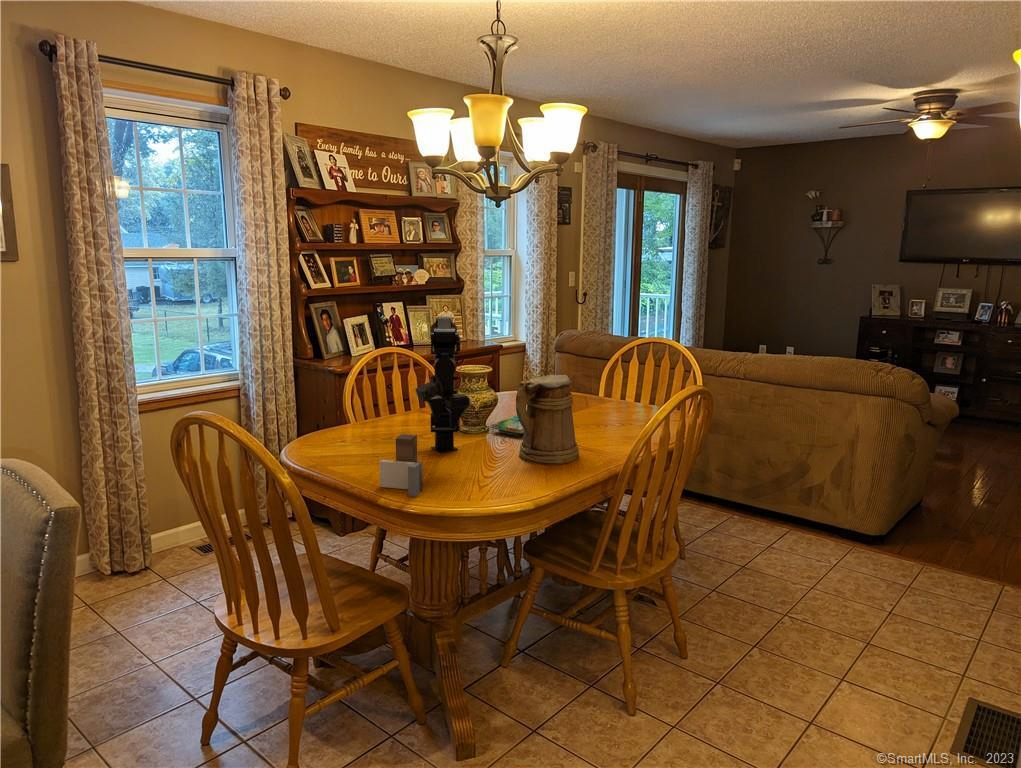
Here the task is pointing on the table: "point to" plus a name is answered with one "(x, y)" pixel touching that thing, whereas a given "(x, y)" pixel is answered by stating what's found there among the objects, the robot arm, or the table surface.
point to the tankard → (546, 420)
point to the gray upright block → (413, 480)
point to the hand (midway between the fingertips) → (444, 425)
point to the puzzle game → (509, 426)
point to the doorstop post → (406, 448)
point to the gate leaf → (397, 474)
